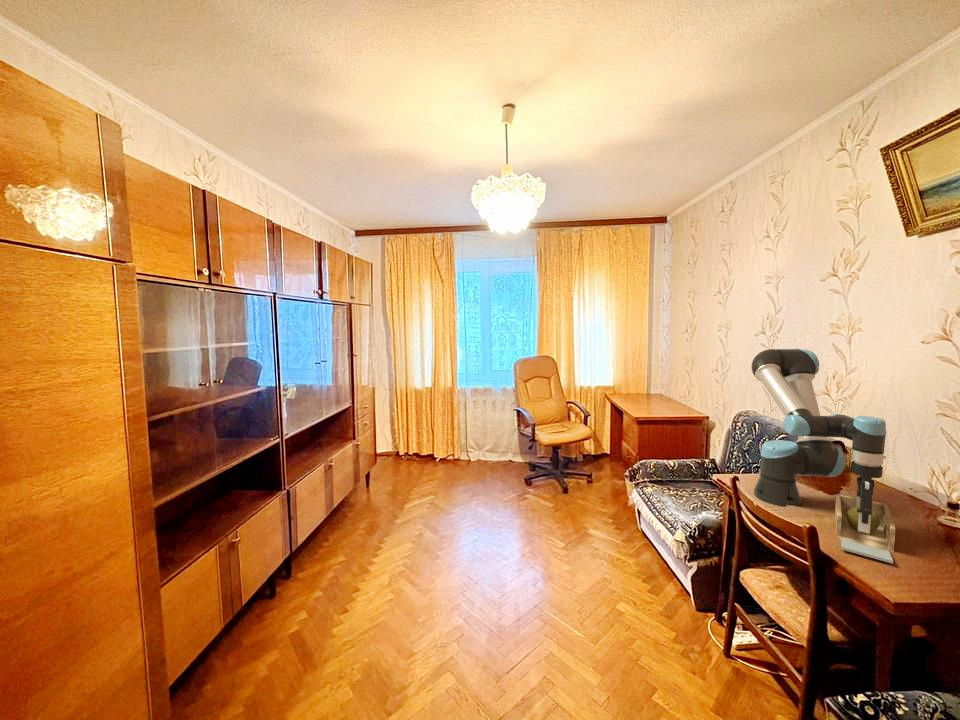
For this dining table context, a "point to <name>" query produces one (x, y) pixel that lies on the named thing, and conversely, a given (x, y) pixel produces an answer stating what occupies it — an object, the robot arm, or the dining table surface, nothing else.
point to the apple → (854, 517)
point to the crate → (877, 538)
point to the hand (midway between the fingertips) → (862, 523)
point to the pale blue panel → (866, 550)
